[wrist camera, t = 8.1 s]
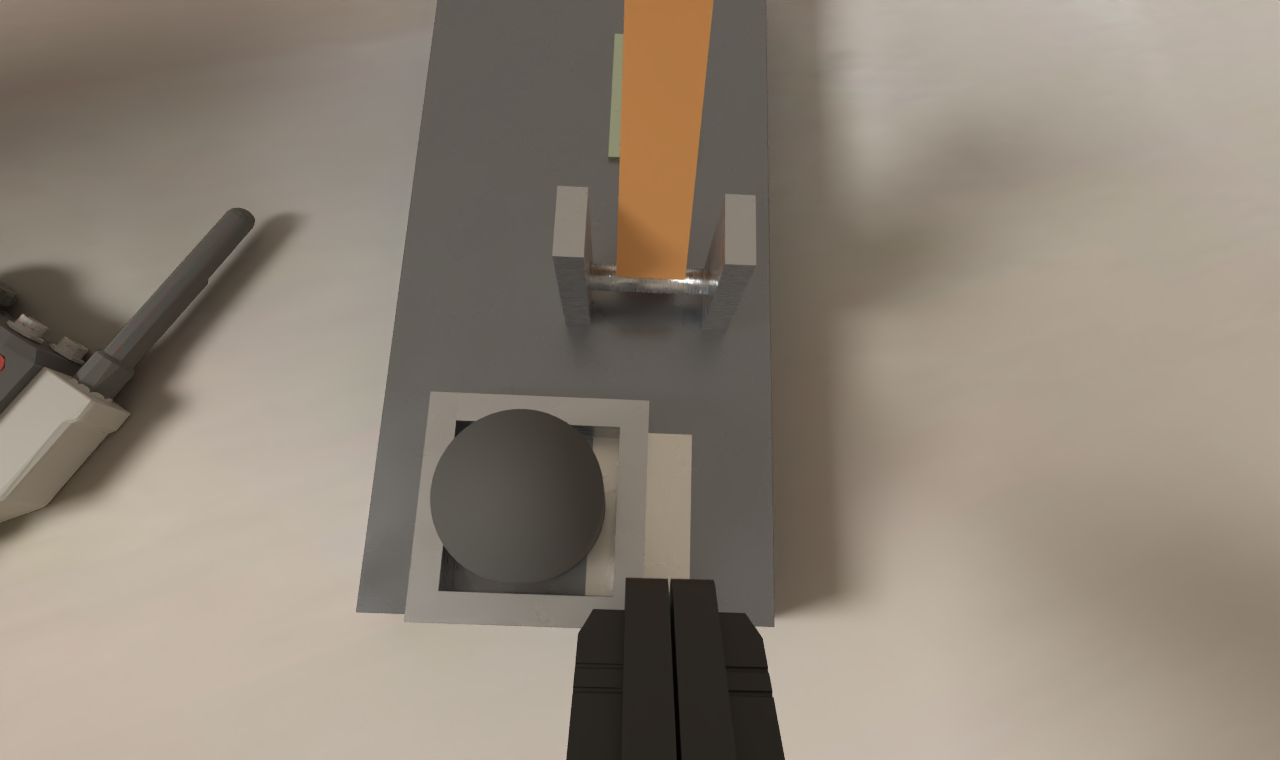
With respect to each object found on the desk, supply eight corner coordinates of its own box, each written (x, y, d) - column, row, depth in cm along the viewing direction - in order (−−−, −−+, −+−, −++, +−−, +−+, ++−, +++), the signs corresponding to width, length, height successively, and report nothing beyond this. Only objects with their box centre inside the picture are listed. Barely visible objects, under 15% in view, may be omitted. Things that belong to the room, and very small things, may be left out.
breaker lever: (612, 278, 21) (623, -102, 15) (615, 243, 22) (625, -114, 17) (688, 281, 21) (728, -96, 15) (685, 247, 22) (721, -108, 17)
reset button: (449, 579, 19) (420, 579, 16) (465, 430, 20) (439, 405, 17) (601, 585, 19) (599, 586, 16) (609, 436, 20) (607, 412, 17)
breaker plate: (387, 611, 24) (276, 626, 16) (464, -20, 30) (413, -224, 23) (755, 624, 24) (821, 645, 16) (750, -4, 31) (796, -201, 23)
